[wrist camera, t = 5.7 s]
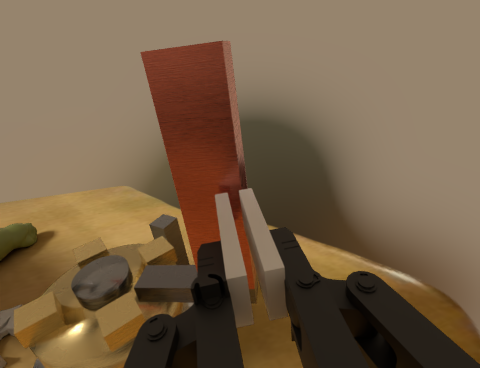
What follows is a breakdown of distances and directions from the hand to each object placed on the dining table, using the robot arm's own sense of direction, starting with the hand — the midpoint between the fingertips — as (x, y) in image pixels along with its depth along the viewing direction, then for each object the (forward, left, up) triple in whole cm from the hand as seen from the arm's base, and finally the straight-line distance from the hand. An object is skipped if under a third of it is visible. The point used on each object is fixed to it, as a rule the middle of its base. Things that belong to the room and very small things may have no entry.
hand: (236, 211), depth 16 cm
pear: (-38, -20, -16) cm, 46 cm away
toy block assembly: (-7, -6, -15) cm, 17 cm away
